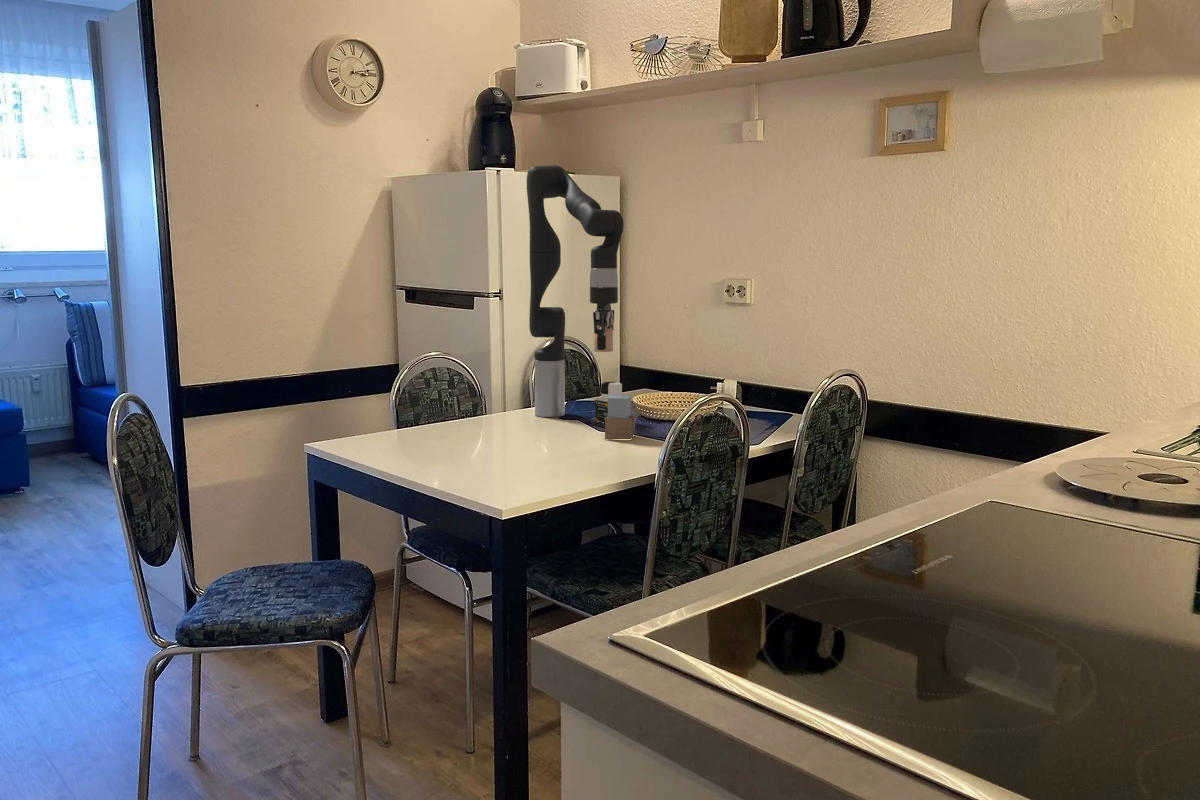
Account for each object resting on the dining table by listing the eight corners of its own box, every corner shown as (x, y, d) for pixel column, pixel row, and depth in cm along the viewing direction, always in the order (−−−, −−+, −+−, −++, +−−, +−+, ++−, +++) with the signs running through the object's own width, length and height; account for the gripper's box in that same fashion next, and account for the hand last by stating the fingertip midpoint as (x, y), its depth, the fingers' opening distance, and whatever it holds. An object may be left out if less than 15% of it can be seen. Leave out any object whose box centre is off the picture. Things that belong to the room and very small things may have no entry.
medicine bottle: (594, 421, 282) (594, 382, 280) (612, 418, 286) (612, 379, 284) (610, 425, 276) (611, 384, 274) (628, 422, 281) (628, 382, 279)
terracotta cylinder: (597, 350, 259) (597, 328, 258) (614, 350, 257) (614, 328, 257) (592, 351, 254) (592, 329, 253) (610, 352, 253) (610, 329, 252)
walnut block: (610, 435, 263) (610, 413, 262) (634, 436, 261) (635, 414, 260) (604, 440, 256) (605, 418, 255) (630, 441, 255) (630, 419, 254)
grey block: (611, 414, 261) (611, 394, 260) (630, 415, 260) (631, 395, 259) (607, 418, 256) (607, 398, 255) (627, 418, 255) (628, 398, 254)
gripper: (597, 285, 261) (597, 346, 263) (583, 286, 247) (583, 351, 250) (623, 285, 259) (623, 347, 262) (611, 286, 245) (611, 351, 248)
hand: (604, 348), depth 256 cm, fingers closed on terracotta cylinder, 5 cm apart
